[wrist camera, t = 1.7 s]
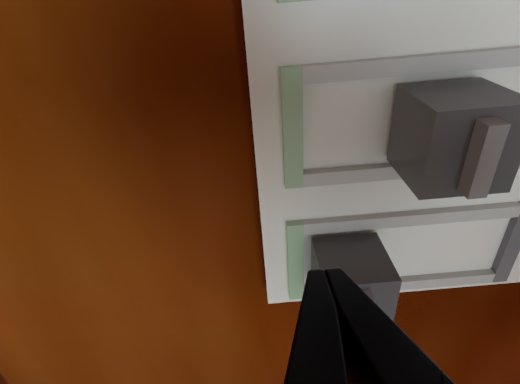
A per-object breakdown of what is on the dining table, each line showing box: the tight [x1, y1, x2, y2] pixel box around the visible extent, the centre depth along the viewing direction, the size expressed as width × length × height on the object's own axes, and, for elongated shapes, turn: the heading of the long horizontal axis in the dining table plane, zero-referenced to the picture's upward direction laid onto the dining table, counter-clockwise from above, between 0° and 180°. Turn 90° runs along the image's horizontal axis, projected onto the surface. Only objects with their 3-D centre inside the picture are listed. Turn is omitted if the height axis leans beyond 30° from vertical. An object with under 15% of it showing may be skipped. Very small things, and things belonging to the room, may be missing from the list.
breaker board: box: [242, 0, 520, 304], centre depth 18 cm, size 21×26×2 cm
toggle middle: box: [386, 77, 520, 200], centre depth 15 cm, size 4×4×5 cm
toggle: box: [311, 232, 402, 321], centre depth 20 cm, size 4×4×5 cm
